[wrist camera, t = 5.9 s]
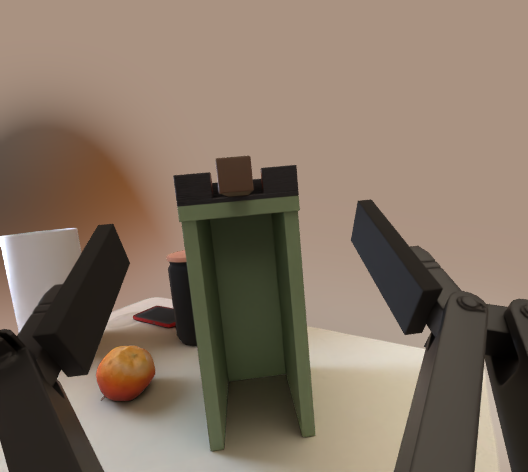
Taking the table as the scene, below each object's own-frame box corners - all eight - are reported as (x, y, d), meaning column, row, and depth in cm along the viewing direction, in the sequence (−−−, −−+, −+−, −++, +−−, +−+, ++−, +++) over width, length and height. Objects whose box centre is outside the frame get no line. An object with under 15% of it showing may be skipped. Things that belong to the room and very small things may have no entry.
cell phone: (157, 308, 81) (156, 305, 81) (194, 316, 73) (194, 312, 73) (131, 319, 75) (131, 315, 75) (170, 329, 67) (169, 324, 67)
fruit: (110, 368, 50) (127, 329, 48) (151, 391, 49) (168, 352, 48) (73, 401, 42) (91, 356, 40) (121, 428, 41) (141, 384, 40)
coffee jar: (238, 333, 62) (229, 249, 59) (190, 353, 55) (178, 260, 53) (213, 320, 70) (205, 246, 68) (170, 336, 63) (158, 254, 61)
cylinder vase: (106, 342, 63) (86, 227, 60) (35, 372, 53) (8, 237, 50) (82, 330, 71) (64, 228, 68) (17, 355, 61) (-8, 236, 58)
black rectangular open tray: (298, 195, 29) (296, 164, 29) (177, 206, 28) (173, 175, 28) (278, 197, 45) (276, 177, 45) (199, 204, 44) (197, 184, 44)
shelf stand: (317, 443, 33) (298, 195, 29) (209, 459, 32) (177, 206, 28) (292, 364, 49) (278, 197, 45) (220, 373, 48) (199, 204, 44)
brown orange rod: (263, 189, 17) (258, 132, 17) (208, 194, 17) (202, 137, 16) (250, 196, 43) (247, 174, 42) (228, 198, 43) (225, 176, 42)
